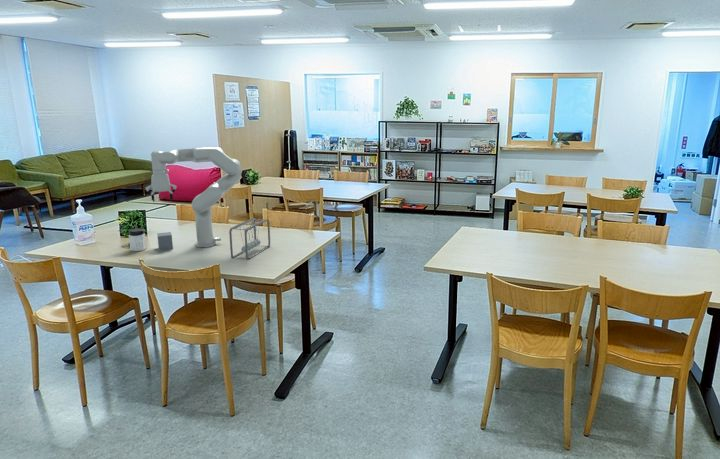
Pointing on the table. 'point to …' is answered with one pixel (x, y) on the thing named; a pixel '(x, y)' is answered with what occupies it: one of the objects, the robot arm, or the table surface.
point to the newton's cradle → (255, 241)
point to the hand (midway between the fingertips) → (162, 200)
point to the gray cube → (165, 241)
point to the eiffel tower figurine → (126, 244)
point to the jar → (137, 239)
